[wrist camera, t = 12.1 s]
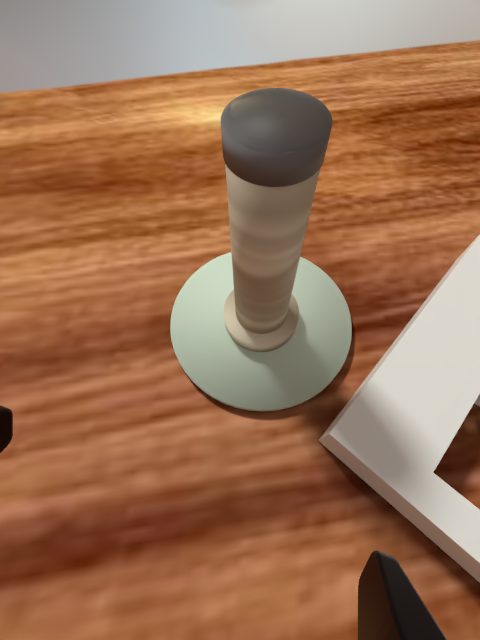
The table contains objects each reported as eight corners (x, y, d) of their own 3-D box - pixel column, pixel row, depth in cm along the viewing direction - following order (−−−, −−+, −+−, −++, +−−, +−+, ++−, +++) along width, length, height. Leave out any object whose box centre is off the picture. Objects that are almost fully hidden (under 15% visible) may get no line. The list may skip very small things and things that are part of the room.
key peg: (285, 361, 18) (339, 187, 8) (213, 339, 19) (171, 152, 8) (304, 299, 20) (368, 89, 10) (238, 280, 21) (229, 67, 10)
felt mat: (206, 444, 17) (205, 443, 16) (151, 283, 22) (149, 279, 21) (385, 367, 19) (388, 364, 18) (298, 233, 23) (299, 229, 23)
